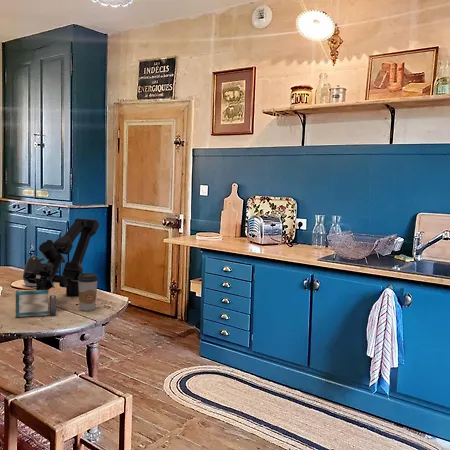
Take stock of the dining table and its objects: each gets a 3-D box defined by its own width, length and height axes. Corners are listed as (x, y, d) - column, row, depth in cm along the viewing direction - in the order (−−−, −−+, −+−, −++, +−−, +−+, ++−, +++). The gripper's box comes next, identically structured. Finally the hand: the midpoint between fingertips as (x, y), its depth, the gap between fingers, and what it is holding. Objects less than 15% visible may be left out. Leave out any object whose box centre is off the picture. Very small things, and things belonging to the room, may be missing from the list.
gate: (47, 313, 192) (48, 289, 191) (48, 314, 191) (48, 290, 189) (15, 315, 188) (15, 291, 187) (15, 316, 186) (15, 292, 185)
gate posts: (56, 314, 193) (57, 295, 192) (53, 316, 191) (53, 297, 190) (19, 309, 197) (19, 290, 196) (15, 311, 195) (15, 292, 194)
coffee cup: (79, 312, 197) (79, 277, 196) (75, 307, 205) (76, 273, 203) (99, 310, 201) (99, 276, 199) (95, 305, 208) (95, 272, 207)
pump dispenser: (40, 288, 231) (40, 258, 230) (19, 287, 232) (19, 257, 230) (48, 283, 242) (48, 254, 240) (28, 282, 242) (28, 253, 240)
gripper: (25, 253, 201) (8, 284, 192) (64, 257, 197) (48, 289, 187) (37, 267, 209) (20, 297, 200) (74, 271, 205) (59, 302, 196)
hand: (36, 296), depth 196 cm, fingers closed
